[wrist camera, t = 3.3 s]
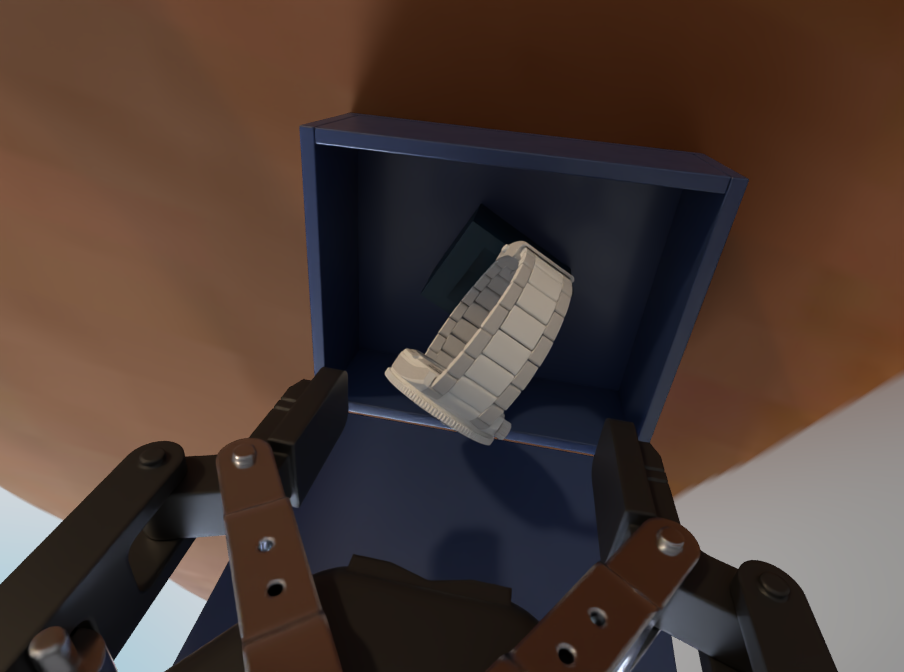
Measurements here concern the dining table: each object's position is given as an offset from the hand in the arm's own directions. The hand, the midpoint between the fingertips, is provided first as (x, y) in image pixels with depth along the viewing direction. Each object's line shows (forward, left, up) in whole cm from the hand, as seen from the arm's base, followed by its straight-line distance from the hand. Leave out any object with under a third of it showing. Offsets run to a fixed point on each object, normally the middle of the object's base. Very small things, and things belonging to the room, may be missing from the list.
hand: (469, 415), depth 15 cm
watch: (0, 0, -12) cm, 12 cm away
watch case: (0, 0, -12) cm, 12 cm away
